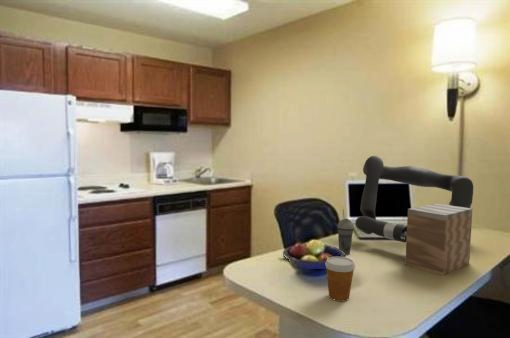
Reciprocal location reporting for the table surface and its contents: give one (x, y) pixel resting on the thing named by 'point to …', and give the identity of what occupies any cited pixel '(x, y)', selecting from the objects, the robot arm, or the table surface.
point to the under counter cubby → (438, 237)
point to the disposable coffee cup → (339, 277)
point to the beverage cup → (345, 235)
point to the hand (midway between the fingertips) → (432, 240)
